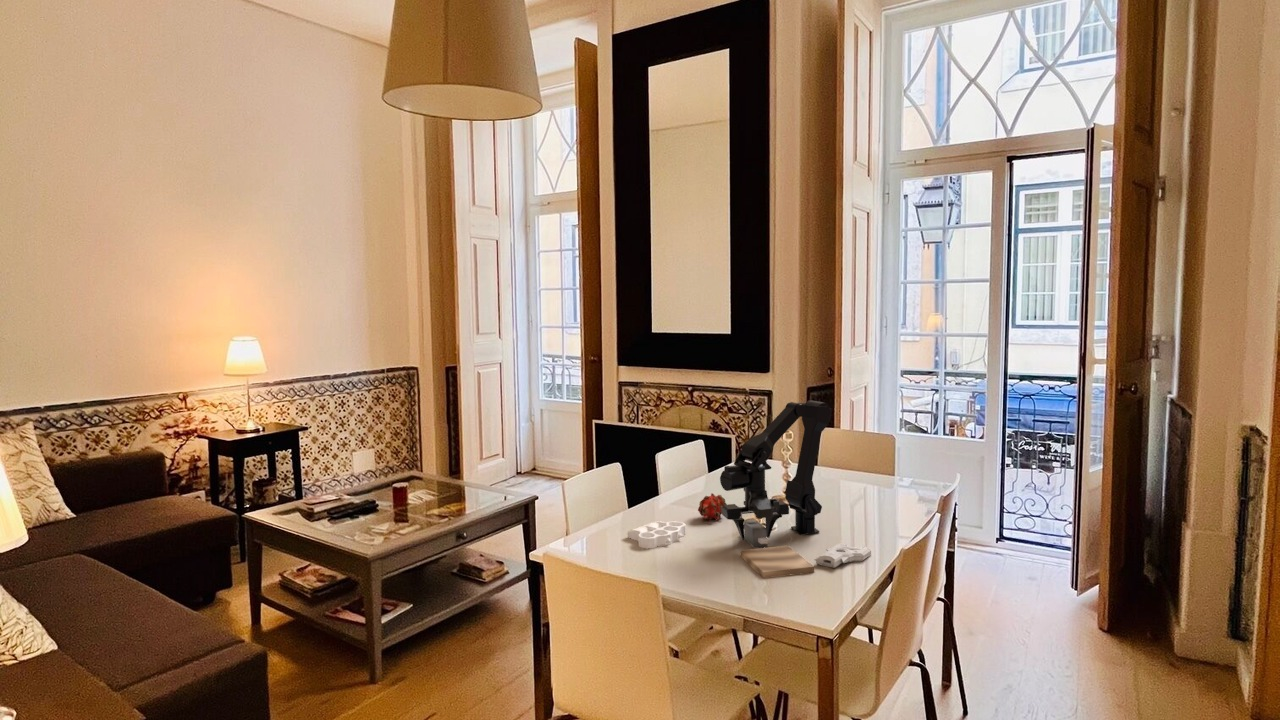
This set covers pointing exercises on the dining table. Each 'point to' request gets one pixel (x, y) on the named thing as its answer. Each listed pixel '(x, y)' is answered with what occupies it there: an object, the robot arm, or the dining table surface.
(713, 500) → the dragon fruit
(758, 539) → the plug
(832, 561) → the gun
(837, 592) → the dining table surface
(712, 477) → the dining table surface
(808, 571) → the oak board
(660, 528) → the white egg tray
